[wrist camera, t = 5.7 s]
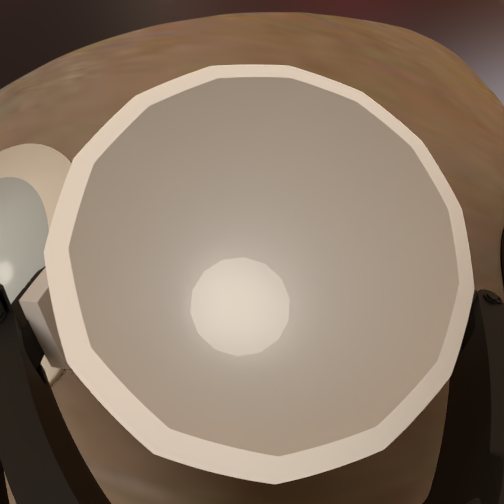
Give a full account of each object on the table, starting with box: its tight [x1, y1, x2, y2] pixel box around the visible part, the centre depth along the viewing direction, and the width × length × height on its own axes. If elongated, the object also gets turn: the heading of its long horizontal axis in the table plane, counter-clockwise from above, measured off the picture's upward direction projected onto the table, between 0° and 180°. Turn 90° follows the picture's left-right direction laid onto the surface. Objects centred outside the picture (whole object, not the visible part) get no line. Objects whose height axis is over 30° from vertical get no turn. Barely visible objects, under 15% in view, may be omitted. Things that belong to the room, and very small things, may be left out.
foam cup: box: [44, 65, 474, 484], centre depth 11 cm, size 10×9×13 cm
